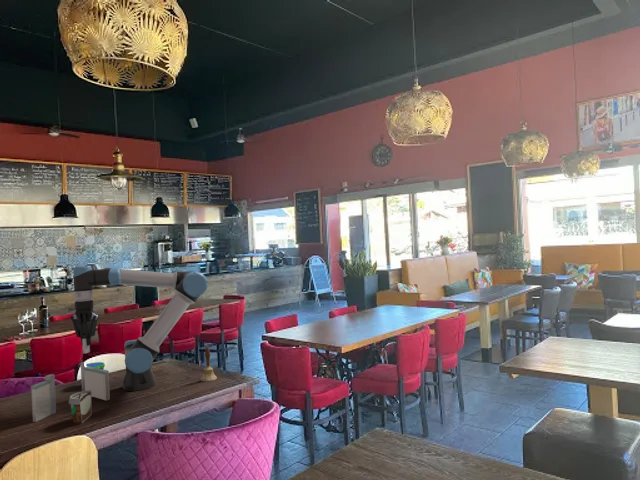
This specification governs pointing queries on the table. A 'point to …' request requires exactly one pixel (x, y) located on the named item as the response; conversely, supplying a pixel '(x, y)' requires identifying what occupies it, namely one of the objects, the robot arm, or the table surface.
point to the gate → (97, 382)
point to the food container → (80, 406)
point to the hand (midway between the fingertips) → (86, 352)
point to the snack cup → (96, 365)
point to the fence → (47, 396)
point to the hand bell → (208, 369)
